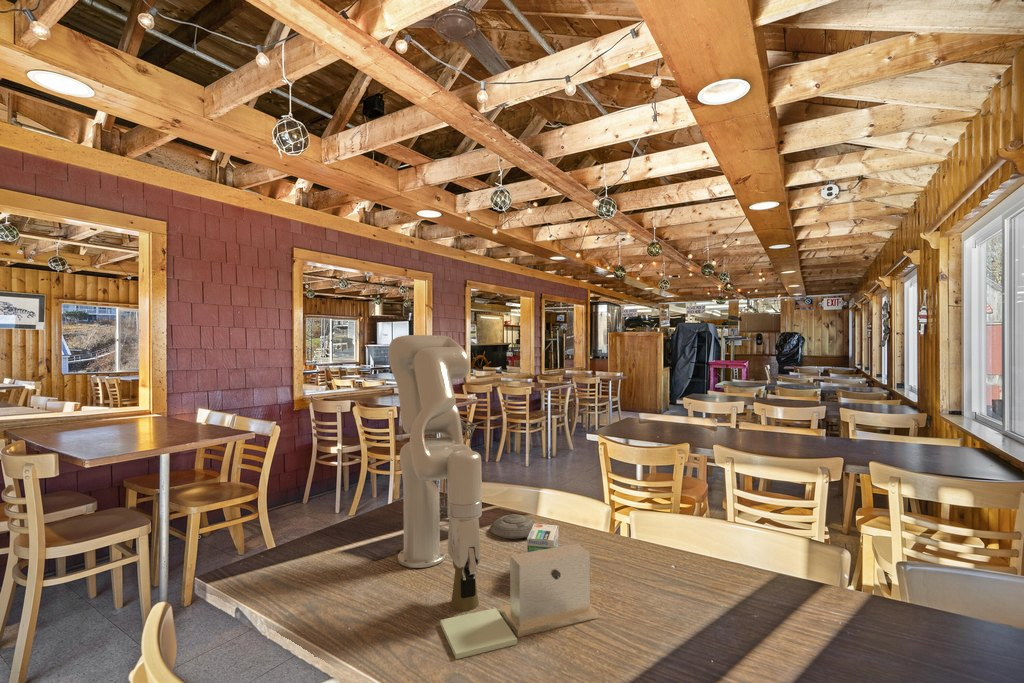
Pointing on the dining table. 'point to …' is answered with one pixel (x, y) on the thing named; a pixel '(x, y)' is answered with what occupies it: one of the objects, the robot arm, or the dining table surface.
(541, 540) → the light bulb box
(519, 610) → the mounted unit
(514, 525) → the flying saucer
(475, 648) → the mat
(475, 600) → the brown pawn
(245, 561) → the dining table surface
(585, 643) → the dining table surface
